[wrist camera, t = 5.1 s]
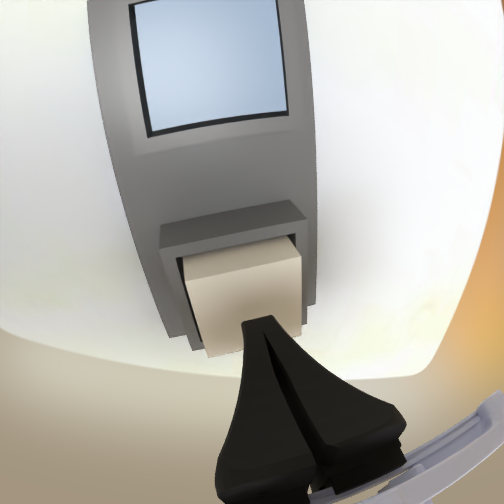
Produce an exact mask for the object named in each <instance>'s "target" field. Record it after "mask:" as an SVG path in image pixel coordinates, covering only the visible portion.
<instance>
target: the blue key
mask: <svg viewBox="0 0 504 504" xmlns="http://www.w3.org/2000/svg"><path fill="white" fill-rule="evenodd" d="M135 14H136V23H137V32H138V41H139V49H140V56H141V64H142V71H143V78H144V84H145V91H146V97H147V103H148V109H149V115H150V120H151V126H152V131H156V130H161V129H166V128H170V127H175V126H180V125H185V124H191V123H196V122H202V121H207V120H214V119H220V118H226V117H233V116H241V115H248V114H257V113H266V112H275V111H286V99H285V87H284V76H283V66H282V55H281V46H280V36H279V27H278V19H277V10H276V2H275V0H157V1H152V2H147V3H143V4H138V5H135Z"/></svg>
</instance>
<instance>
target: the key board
mask: <svg viewBox="0 0 504 504" xmlns="http://www.w3.org/2000/svg"><path fill="white" fill-rule="evenodd" d="M152 1H157V0H88V1H87V11H88V23H89V34H90V43H91V51H92V59H93V66H94V73H95V80H96V86H97V92H98V98H99V104H100V109H101V114H102V119H103V124H104V129H105V134H106V139H107V143H108V148H109V152H110V156H111V160H112V165H113V169H114V173H115V177H116V180H117V184H118V188H119V192H120V196H121V199H122V203H123V206H124V210H125V213H126V217H127V220H128V223H129V227H130V230H131V233H132V236H133V240H134V243H135V246H136V249H137V252H138V255H139V258H140V261H141V264H142V267H143V270H144V273H145V276H146V279H147V281H148V284H149V287H150V290H151V292H152V295H153V298H154V301H155V303H156V306H157V308H158V311H159V314H160V316H161V319H162V321H163V324H164V326H165V329H166V331H167V334H168V336H169V338H172V337H177V336H182V335H187V337H188V340H189V343H190V346H191V348H192V351H195V350H200V349H205V347H204V343H203V340H202V337H201V334H200V331H199V328H198V324H197V321H196V318H195V315H194V311H193V308H192V304H191V301H190V298H189V294H188V291H187V287H186V284H185V277H184V266H183V256H187V255H192V254H197V253H201V252H206V251H211V250H216V249H220V248H225V247H230V246H235V245H239V244H244V243H249V242H254V241H259V240H264V239H268V238H273V237H278V236H283V235H287V236H288V238H289V239H290V241H291V242H292V244H293V245H294V246H295V248H296V249H297V251H298V252H299V254H300V255H301V271H302V321H301V325H304V324H307V306H311V305H314V304H315V301H316V270H317V172H316V142H315V120H314V103H313V88H312V74H311V62H310V51H309V41H308V31H307V22H306V14H305V5H304V0H275V2H276V10H277V19H278V27H279V36H280V46H281V55H282V66H283V76H284V87H285V99H286V111H275V112H266V113H257V114H248V115H241V116H233V117H226V118H220V119H214V120H207V121H202V122H196V123H191V124H185V125H180V126H175V127H170V128H166V129H161V130H156V131H152V126H151V120H150V115H149V109H148V103H147V97H146V91H145V84H144V78H143V71H142V64H141V56H140V49H139V41H138V32H137V23H136V14H135V5H138V4H143V3H147V2H152Z"/></svg>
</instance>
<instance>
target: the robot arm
mask: <svg viewBox="0 0 504 504" xmlns="http://www.w3.org/2000/svg"><path fill="white" fill-rule="evenodd" d="M241 328H242V334H243V342H244V352H243V368H242V377H241V384H240V390H239V395H238V400H237V404H236V408H235V412H234V416H233V419H232V422H231V425H230V428H229V431H228V434H227V437H226V440H225V443H224V445H223V447H222V450H221V452H220V454H219V457H218V461H217V466H216V472H215V488H216V492H217V496H218V498H219V499H220V500H222V501H223V502H224V503H225V504H332V503H335V502H338V501H340V500H343V499H346V498H348V497H351V496H353V495H355V494H358V493H360V492H362V491H365V490H367V489H370V488H372V487H374V486H376V485H378V484H381V483H383V482H385V481H387V480H389V479H391V478H393V477H395V476H397V475H399V474H401V473H403V472H404V471H406V472H404V473H403V474H401V475H400V476H398V477H396V478H394V479H393V480H391V481H389V483H388V485H386V486H385V487H384V488H382V489H381V490H379V491H378V494H377V495H375V496H372V497H370V498H368V499H365V500H363V501H360V502H358V503H355V504H433V502H432V500H431V498H432V497H434V496H435V495H437V494H438V493H440V492H441V491H443V490H444V489H446V488H447V487H449V486H450V485H452V484H453V483H455V482H456V481H457V480H459V479H460V478H462V477H463V476H464V475H466V474H467V473H468V472H470V471H471V470H472V469H473V468H475V467H476V466H477V465H479V464H480V463H481V462H482V461H483V460H485V459H486V458H487V457H488V456H490V455H491V454H492V453H493V452H494V451H495V450H496V449H497V448H499V447H500V446H501V445H502V444H503V443H504V394H503V393H502V391H501V390H500V389H498V390H497V391H495V392H494V393H493V394H492V395H490V396H489V397H488V398H487V399H485V400H484V401H483V402H482V403H481V404H480V405H479V406H478V408H477V409H476V411H474V412H473V413H472V414H470V415H469V416H467V417H466V418H464V419H463V420H462V421H460V422H459V423H457V424H456V425H454V426H453V427H451V428H449V429H448V430H447V431H445V432H443V433H442V434H440V435H438V436H437V437H435V438H434V439H432V440H430V441H428V442H427V443H425V444H423V445H422V446H420V447H418V448H416V449H414V450H412V451H411V452H409V453H407V454H405V455H404V454H403V453H402V451H401V449H400V447H401V443H400V441H399V439H398V438H399V437H400V435H401V434H402V432H403V431H404V430H405V427H406V425H407V424H406V421H405V419H404V418H403V416H402V415H401V414H400V412H399V411H398V410H397V409H396V407H395V406H394V405H392V404H390V403H387V402H385V401H382V400H380V399H377V398H375V397H373V396H371V395H368V394H367V393H365V392H362V391H361V390H358V389H357V388H355V387H353V386H352V385H350V384H348V383H347V382H345V381H343V380H342V379H340V378H339V377H337V376H336V375H334V374H333V373H331V372H330V371H328V370H327V369H326V368H324V367H323V366H322V365H321V364H319V363H318V362H317V361H316V360H315V359H313V358H312V357H311V356H310V355H309V354H308V353H307V352H306V351H304V350H303V349H302V348H301V347H300V346H299V345H298V344H297V343H296V342H295V341H294V340H293V339H292V338H291V336H290V335H289V334H288V333H287V332H286V331H285V330H284V329H283V327H282V326H281V325H280V324H279V322H278V321H277V320H276V318H275V317H274V316H273V315H268V316H264V317H259V318H255V319H251V320H247V321H243V322H242V323H241ZM408 469H409V470H408ZM407 470H408V471H407ZM309 484H310V487H311V490H312V494H308V493H307V491H308V488H309Z"/></svg>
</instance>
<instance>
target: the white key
mask: <svg viewBox="0 0 504 504" xmlns="http://www.w3.org/2000/svg"><path fill="white" fill-rule="evenodd" d="M183 266H184V277H185V284H186V287H187V291H188V294H189V298H190V301H191V304H192V308H193V311H194V315H195V318H196V321H197V324H198V328H199V331H200V334H201V337H202V340H203V343H204V347H205V350H206V353H207V356H208V358H210V357H215V356H219V355H224V354H228V353H233V352H237V351H241V350H244V342H243V334H242V328H241V323H242V322H243V321H247V320H251V319H255V318H259V317H264V316H268V315H273V316H274V317H275V318H276V320H277V321H278V322H279V324H280V325H281V326H282V327H283V329H284V330H285V331H286V332H287V333H288V334H289V335H290V336H291V338H293V337H296V336H300V335H301V321H302V271H301V255H300V254H299V252H298V251H297V249H296V248H295V246H294V245H293V244H292V242H291V241H290V239H289V238H288V236H287V235H283V236H278V237H273V238H268V239H264V240H259V241H254V242H249V243H244V244H239V245H235V246H230V247H225V248H220V249H216V250H211V251H206V252H201V253H197V254H192V255H187V256H183Z"/></svg>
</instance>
